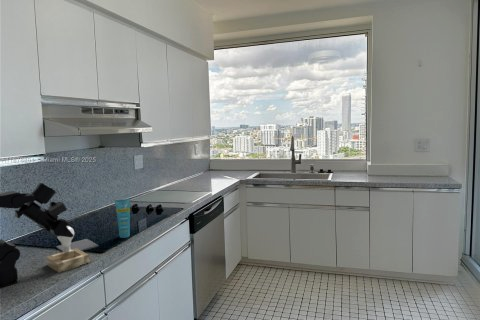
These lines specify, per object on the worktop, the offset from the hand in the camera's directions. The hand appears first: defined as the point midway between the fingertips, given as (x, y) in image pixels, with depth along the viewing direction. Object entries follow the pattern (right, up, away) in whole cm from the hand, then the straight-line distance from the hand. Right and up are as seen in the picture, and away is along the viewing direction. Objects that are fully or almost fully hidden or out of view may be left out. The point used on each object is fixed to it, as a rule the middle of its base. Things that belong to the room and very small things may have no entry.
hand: (69, 234), depth 141 cm
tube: (+12, -8, +33) cm, 36 cm away
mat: (-6, -10, +20) cm, 23 cm away
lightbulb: (-1, -7, 0) cm, 7 cm away
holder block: (0, -12, 0) cm, 12 cm away
